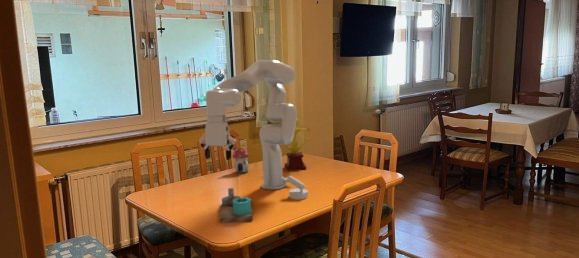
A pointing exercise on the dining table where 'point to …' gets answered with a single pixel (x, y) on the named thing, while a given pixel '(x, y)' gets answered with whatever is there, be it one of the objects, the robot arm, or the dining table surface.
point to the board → (227, 210)
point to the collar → (242, 206)
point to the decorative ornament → (241, 160)
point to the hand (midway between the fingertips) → (218, 158)
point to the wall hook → (297, 193)
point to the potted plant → (295, 153)
